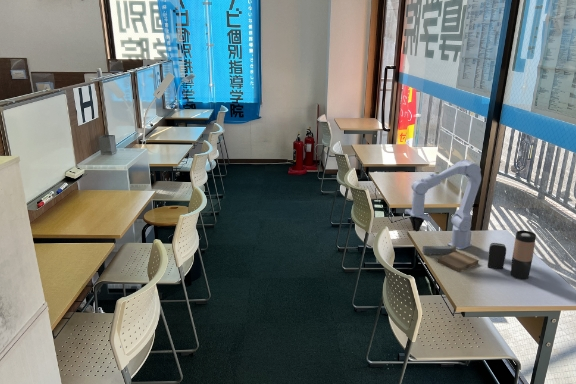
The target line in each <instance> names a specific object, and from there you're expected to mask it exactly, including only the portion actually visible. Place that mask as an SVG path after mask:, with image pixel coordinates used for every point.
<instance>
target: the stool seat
mask: <svg viewBox="0 0 576 384" xmlns="http://www.w3.org/2000/svg"><path fill="white" fill-rule="evenodd" d="M450 247H451V253H450V254H444V255H443V256H441V257H438V258H437V260H436V261H437V263H438V264H439V265H441V266H444V267H446V268H449V269H451V270H453V271H456V272H457V273H461V272H463V271H466V270H468V269H470V268H473V267H475V266H477V265H478V264H479V259H477V258H474V257H471V256H470V255H467V254H465V253H463V252H460V251H458V250H457V248H456V246H455V245H451V246H450ZM437 263H436V264H437Z"/></svg>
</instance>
